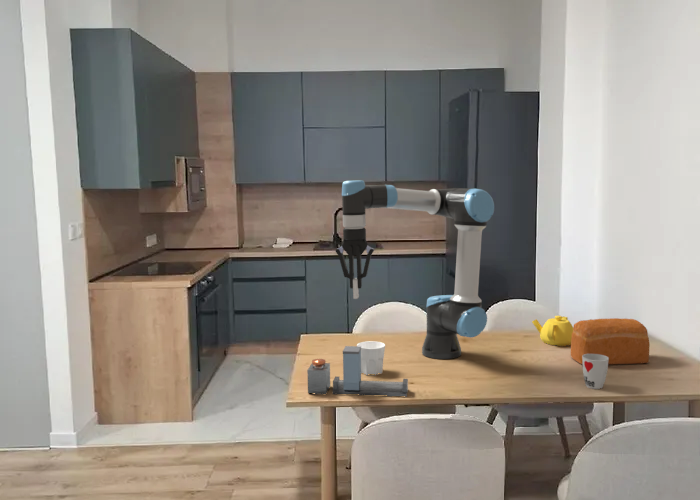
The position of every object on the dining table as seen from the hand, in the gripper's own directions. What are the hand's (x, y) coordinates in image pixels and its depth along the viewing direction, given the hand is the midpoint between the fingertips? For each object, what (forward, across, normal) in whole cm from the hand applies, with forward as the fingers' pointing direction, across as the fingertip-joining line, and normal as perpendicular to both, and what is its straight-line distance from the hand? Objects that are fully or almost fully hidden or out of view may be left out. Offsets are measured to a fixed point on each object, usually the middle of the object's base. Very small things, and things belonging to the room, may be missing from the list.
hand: (356, 297), depth 215 cm
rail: (+30, -5, +8) cm, 31 cm away
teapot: (+31, -74, -61) cm, 101 cm away
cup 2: (+31, -78, -5) cm, 84 cm away
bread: (+31, -90, -36) cm, 102 cm away
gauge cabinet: (+29, +12, +8) cm, 33 cm away
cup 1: (+30, -3, -13) cm, 33 cm away
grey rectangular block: (+28, +1, +8) cm, 29 cm away
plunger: (+28, +12, +8) cm, 32 cm away
